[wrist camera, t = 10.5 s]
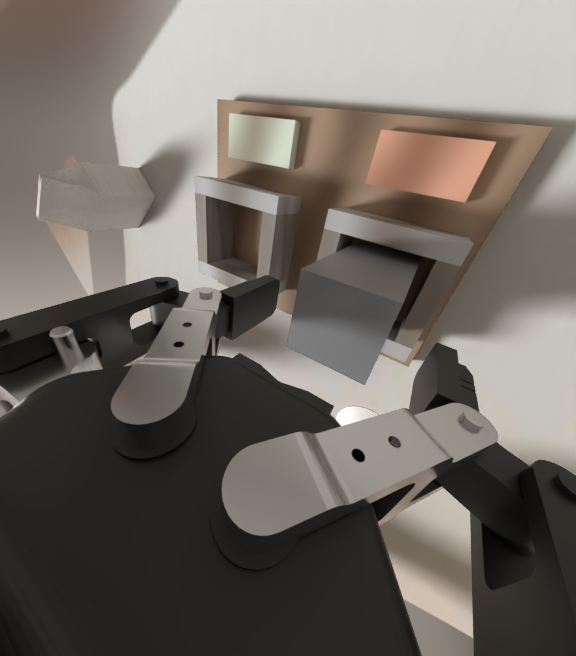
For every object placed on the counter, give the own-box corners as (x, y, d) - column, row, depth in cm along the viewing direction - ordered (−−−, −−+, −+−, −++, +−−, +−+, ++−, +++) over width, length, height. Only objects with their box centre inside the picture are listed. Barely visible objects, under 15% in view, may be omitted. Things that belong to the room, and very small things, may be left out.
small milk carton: (155, 197, 29) (53, 195, 21) (138, 227, 33) (48, 235, 26) (138, 168, 29) (27, 155, 21) (123, 203, 33) (26, 203, 25)
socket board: (545, 132, 12) (586, 104, 9) (409, 359, 21) (403, 391, 18) (227, 103, 20) (180, 82, 16) (224, 279, 29) (193, 290, 25)
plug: (421, 256, 16) (403, 303, 9) (396, 310, 19) (364, 385, 11) (361, 240, 18) (301, 268, 10) (345, 292, 20) (286, 346, 13)
